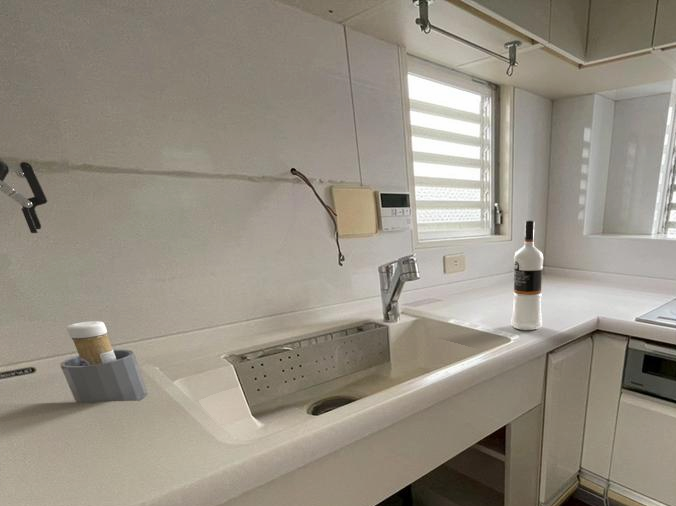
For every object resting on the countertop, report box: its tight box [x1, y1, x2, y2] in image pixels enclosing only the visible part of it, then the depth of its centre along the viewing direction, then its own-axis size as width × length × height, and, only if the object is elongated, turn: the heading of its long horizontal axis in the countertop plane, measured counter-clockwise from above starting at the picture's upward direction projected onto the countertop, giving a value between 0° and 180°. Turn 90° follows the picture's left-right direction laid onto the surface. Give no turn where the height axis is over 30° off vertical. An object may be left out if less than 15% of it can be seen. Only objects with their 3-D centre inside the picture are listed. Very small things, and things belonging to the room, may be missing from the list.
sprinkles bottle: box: [66, 320, 117, 366], centre depth 69 cm, size 5×5×14 cm
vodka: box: [510, 220, 544, 331], centre depth 116 cm, size 9×9×30 cm
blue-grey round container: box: [59, 349, 148, 404], centre depth 70 cm, size 9×9×8 cm
